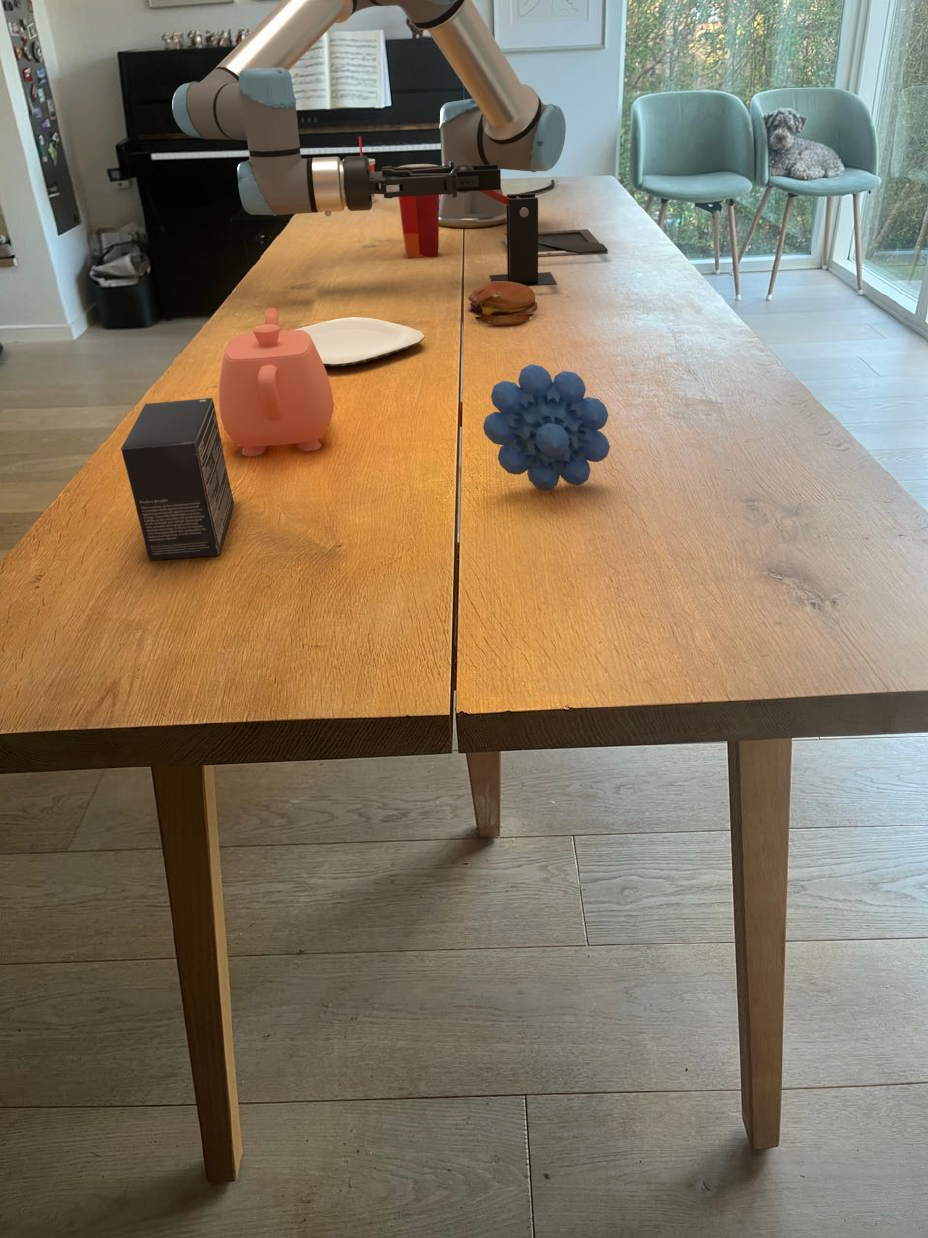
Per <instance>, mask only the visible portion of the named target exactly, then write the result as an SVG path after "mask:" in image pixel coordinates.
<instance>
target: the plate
mask: <svg viewBox="0 0 928 1238" xmlns="http://www.w3.org/2000/svg"><path fill="white" fill-rule="evenodd" d="M295 330H303V331H305V332H307V333H308V334H309V335H310V337H311V339H312V341H313V343H314V345H315V347H316V349H317V351H318V353H319V355H320V358H321V360H322V362H323V365H324V367H349V366H356V365H360V364H366V363H370V362H373V361H377V360H379V359H382V358H385V357H388V356H391V355H392V354H395V353H398V352H401V351H404V350H407V349H409V348H411V347H415V346H416V345H418V344H420V343H421V342H422V341H423V340H425V338H426V337H425V335H424V334H423V333H422V332H421V331H420V330H418V329H415V328H413V327H409V326H406V325H403V324H399V323H395V322H390V321H386V320H382V319H379V318H378V319H377V318H371V317H361V316H351V317H341V318H335V319H331V320H327V321H322V322H317V323H314V324H310V325H306V326H303V327H299V328H296V329H295Z"/></svg>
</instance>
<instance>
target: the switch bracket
mask: <svg viewBox="0 0 928 1238" xmlns="http://www.w3.org/2000/svg"><path fill="white" fill-rule="evenodd" d="M505 196H506V197H508V198H510V199H509V206H507V205H506V219H507V221H506V233H507V246H506V273H503V274H489V275H488V277H489V279H490V282H494V281H508V282H515V283H520V284H523V285H526V286H528V287H538V286H539V287H540V286H557V285H558V283H557V281H556V280H555V278H554V276H553V274H552V272H551V271H544V272H539V257H538V254H539V252H538V232H539V197H536V194H535V193H526V194H519V193H508V194H506V195H505ZM517 196H518V197H520V198H516V197H517Z"/></svg>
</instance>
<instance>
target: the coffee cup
mask: <svg viewBox="0 0 928 1238" xmlns="http://www.w3.org/2000/svg"><path fill="white" fill-rule="evenodd" d="M423 166H438V165H437V164H430V163H415V164H414V163H413V164H405V165H400V166H399V167H423ZM439 198H440V195H422V196H403V197H398V203H399V204H398V205H399V213H400V220H401V228H402V237H403V245H404V252H405V257H406V258H407V259H412V260H413V259H432V258H436V257H438V256H439V248H440V247H439V246H440V245H439V241H440V240H439V238H440V235H439V234H440V231H439V230H440V225H439Z"/></svg>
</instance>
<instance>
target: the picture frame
mask: <svg viewBox="0 0 928 1238" xmlns="http://www.w3.org/2000/svg"><path fill="white" fill-rule="evenodd" d="M504 244H505V246H506V247H507V232H506V233H504ZM552 252H553V253H552ZM608 254H609V249H608V248H607V247H606V246H605V245H604V243H601V242H600V241H599V240H598V239H597V237H595V236H594V234H593V233H592V232H591V231H590V230H589V229H588V228H586V229H585V228H584V229H565V230H546V231H545V230H544V231H538V258H552V257H553V258H555V257H570V256H571V257H572V256H589V255H590V256H591V255H592V256H593V255H608Z"/></svg>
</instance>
